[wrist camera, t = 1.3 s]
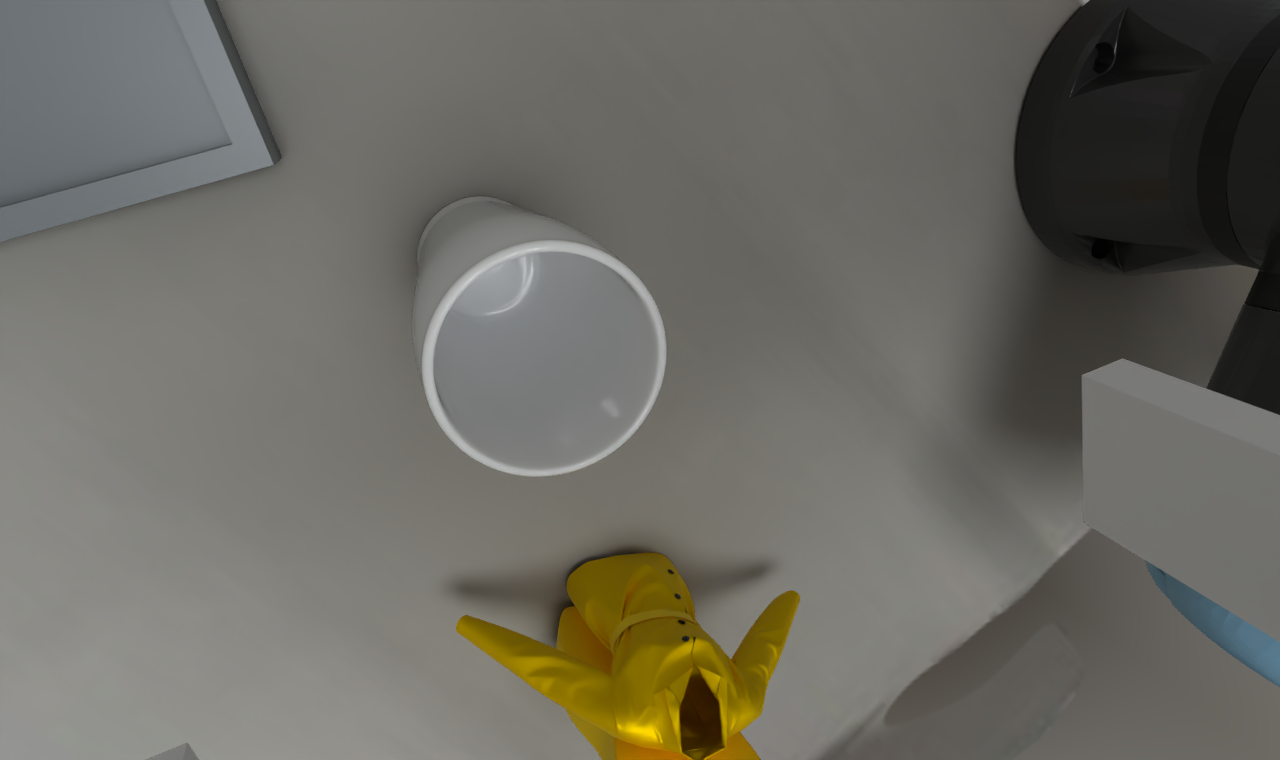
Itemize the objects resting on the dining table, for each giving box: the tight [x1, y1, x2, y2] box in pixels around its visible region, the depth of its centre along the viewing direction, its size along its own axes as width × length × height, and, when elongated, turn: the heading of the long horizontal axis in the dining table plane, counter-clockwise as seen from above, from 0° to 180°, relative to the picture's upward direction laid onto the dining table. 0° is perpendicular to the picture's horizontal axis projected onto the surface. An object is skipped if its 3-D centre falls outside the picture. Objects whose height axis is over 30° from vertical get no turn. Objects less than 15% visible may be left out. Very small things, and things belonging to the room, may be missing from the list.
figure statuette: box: [456, 553, 800, 760], centre depth 33 cm, size 18×8×22 cm, turn 82°
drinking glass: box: [412, 196, 667, 477], centre depth 28 cm, size 7×7×15 cm
